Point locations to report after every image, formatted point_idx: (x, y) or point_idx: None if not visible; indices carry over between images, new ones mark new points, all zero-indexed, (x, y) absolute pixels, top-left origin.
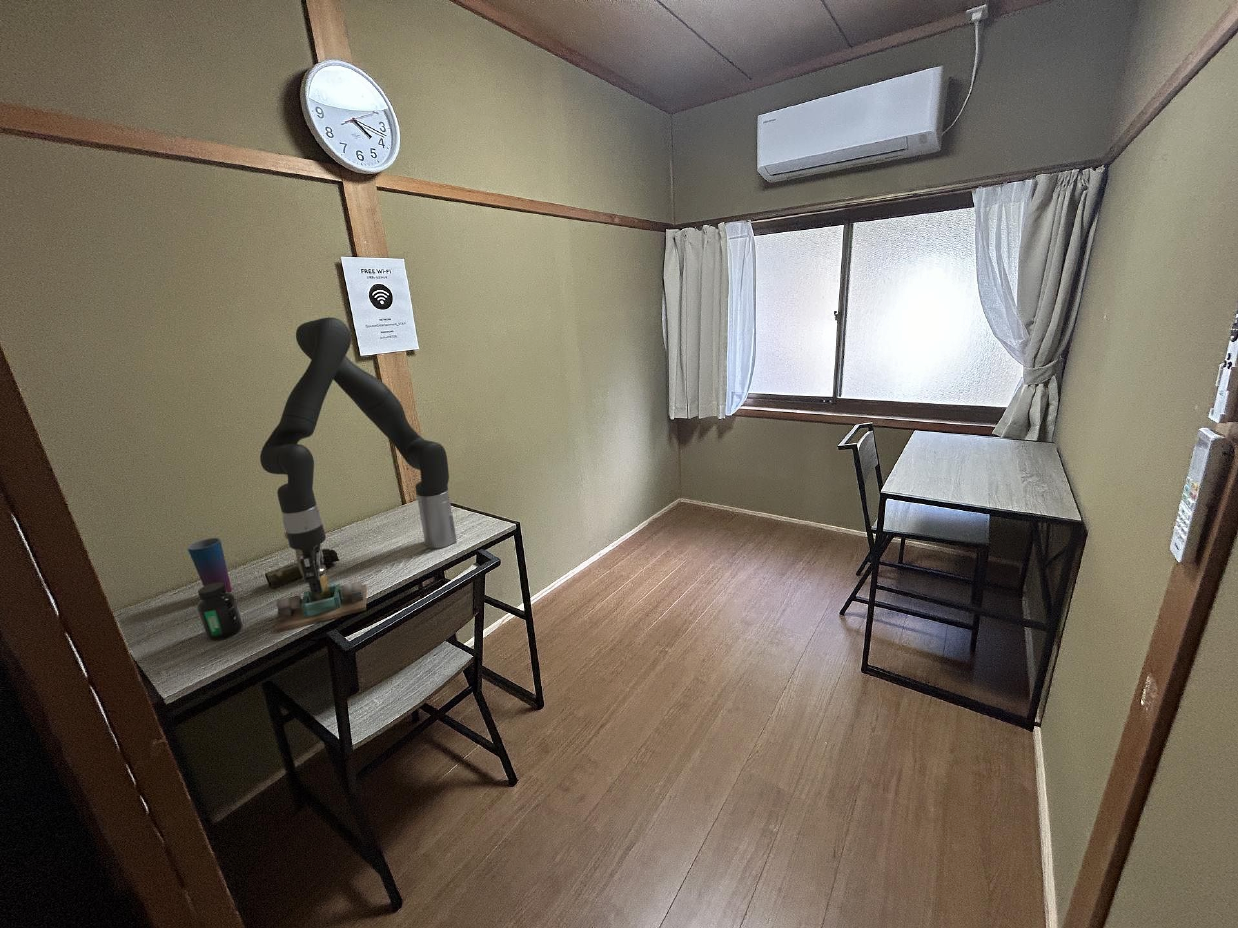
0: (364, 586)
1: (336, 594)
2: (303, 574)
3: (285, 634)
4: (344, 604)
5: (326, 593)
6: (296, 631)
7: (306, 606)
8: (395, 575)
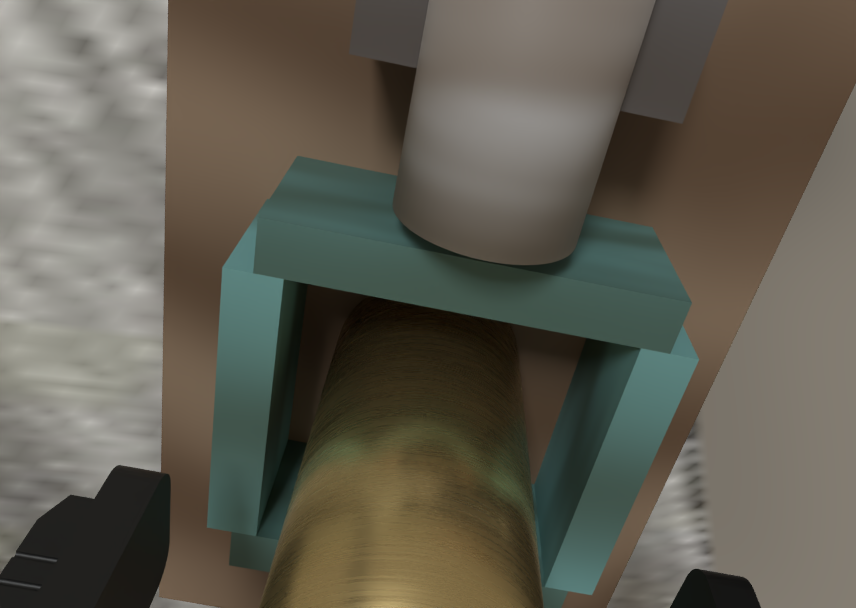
0: None
1: (589, 309)
2: None
3: (658, 600)
4: (609, 179)
5: (510, 422)
6: (682, 546)
7: (595, 578)
8: None
